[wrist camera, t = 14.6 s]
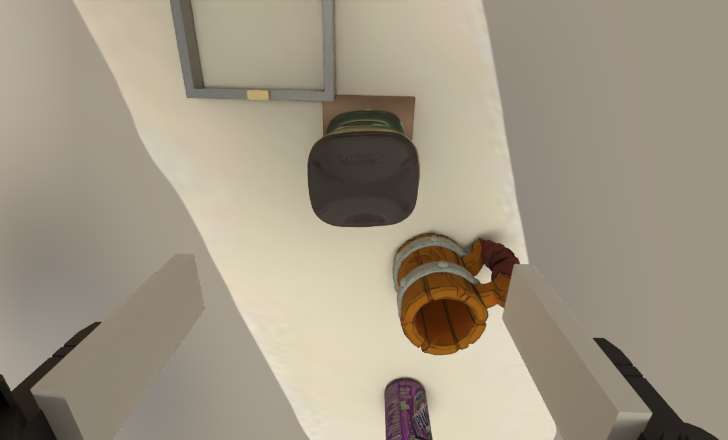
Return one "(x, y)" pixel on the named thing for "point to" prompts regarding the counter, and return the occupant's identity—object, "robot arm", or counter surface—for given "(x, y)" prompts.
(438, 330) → the mug
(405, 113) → the pad
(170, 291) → the robot arm
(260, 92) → the grey square shallow frame
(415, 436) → the beverage can
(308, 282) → the counter surface
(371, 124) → the coffee jar
